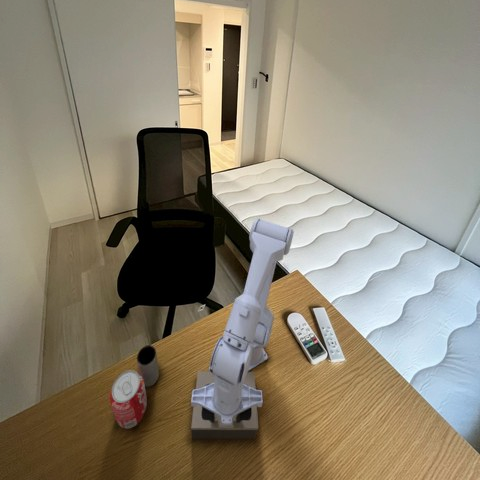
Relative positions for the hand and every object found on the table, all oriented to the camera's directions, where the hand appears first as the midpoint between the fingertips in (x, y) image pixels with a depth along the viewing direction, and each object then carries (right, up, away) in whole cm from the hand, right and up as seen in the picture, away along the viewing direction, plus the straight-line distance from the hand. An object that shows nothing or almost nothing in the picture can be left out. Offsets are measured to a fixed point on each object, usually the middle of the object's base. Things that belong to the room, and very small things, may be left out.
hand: (225, 416), depth 54 cm
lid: (0, 0, +4) cm, 4 cm away
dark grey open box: (-1, -5, +7) cm, 8 cm away
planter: (-21, -1, +11) cm, 24 cm away
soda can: (-23, -4, +5) cm, 24 cm away
